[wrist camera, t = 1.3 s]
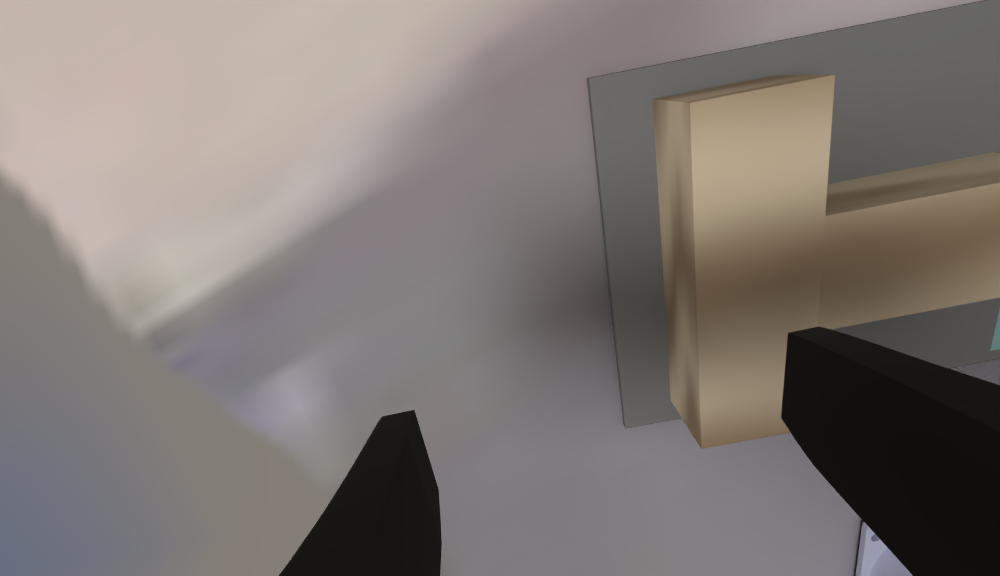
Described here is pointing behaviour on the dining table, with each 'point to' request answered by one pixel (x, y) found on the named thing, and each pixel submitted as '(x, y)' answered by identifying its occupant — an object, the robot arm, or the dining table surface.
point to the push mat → (853, 154)
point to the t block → (796, 243)
